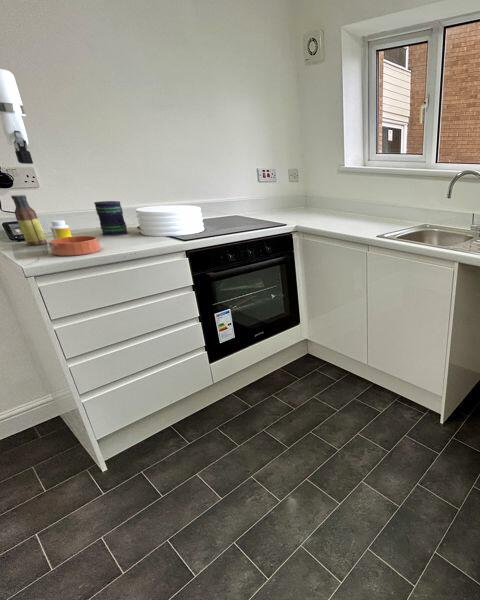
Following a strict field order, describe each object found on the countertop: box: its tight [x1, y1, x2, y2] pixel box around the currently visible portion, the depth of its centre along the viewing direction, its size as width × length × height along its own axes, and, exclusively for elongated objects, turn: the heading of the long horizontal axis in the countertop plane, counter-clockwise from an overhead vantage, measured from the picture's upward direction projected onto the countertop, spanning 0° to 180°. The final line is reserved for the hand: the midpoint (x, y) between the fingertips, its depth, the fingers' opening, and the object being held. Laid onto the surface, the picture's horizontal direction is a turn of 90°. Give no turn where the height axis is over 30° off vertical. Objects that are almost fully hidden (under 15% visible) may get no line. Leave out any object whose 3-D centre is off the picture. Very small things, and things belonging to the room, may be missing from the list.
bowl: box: [48, 235, 102, 257], centre depth 136 cm, size 14×14×5 cm
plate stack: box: [135, 204, 205, 237], centre depth 180 cm, size 28×28×12 cm
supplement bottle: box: [50, 219, 73, 239], centre depth 144 cm, size 6×6×10 cm
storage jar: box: [93, 200, 129, 237], centre depth 168 cm, size 10×10×15 cm
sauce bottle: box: [10, 194, 48, 246], centre depth 143 cm, size 7×6×20 cm
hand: (25, 163), depth 127 cm, fingers open, 9 cm apart
